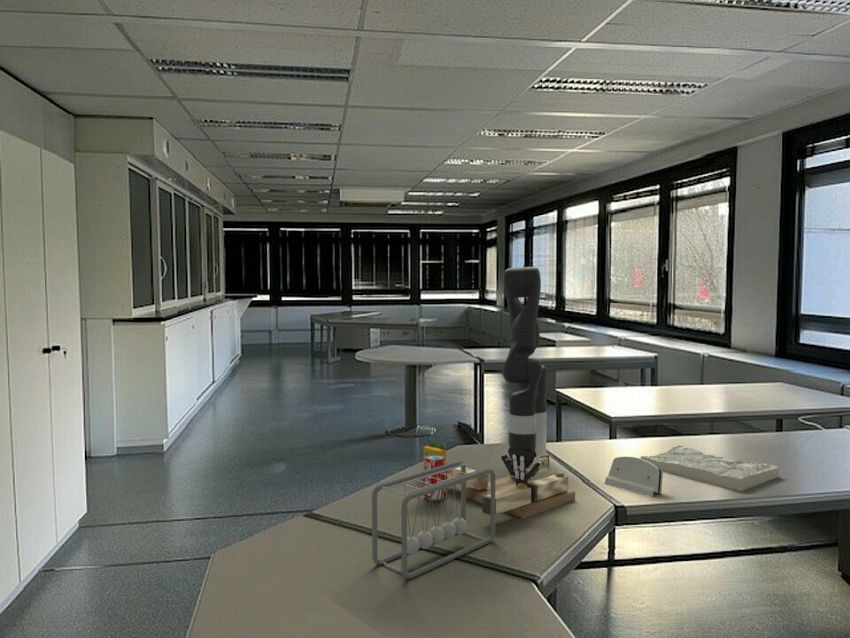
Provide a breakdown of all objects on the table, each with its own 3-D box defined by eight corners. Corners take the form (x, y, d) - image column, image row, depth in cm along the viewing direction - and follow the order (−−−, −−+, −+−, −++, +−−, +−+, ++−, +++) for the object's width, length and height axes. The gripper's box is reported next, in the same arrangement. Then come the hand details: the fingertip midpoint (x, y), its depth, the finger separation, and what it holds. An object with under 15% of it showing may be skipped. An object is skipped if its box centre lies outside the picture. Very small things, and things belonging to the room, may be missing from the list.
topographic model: (740, 492, 185) (741, 475, 185) (640, 466, 213) (640, 451, 212) (778, 478, 199) (779, 462, 199) (679, 455, 226) (680, 441, 226)
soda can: (434, 493, 184) (434, 452, 184) (450, 498, 180) (450, 456, 179) (419, 498, 180) (419, 456, 179) (435, 503, 175) (435, 461, 175)
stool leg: (557, 487, 180) (557, 470, 180) (568, 490, 177) (568, 473, 177) (524, 498, 171) (524, 480, 171) (534, 502, 168) (534, 484, 168)
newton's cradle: (404, 582, 129) (403, 497, 128) (371, 566, 136) (370, 485, 135) (496, 540, 150) (496, 467, 149) (463, 528, 157) (463, 458, 156)
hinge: (603, 483, 193) (610, 451, 195) (611, 485, 196) (618, 453, 198) (652, 497, 180) (659, 462, 182) (661, 499, 183) (667, 465, 185)
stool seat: (415, 495, 182) (415, 469, 181) (516, 467, 210) (516, 445, 209) (496, 528, 157) (496, 498, 157) (598, 491, 185) (599, 466, 185)
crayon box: (423, 477, 200) (423, 441, 199) (429, 475, 202) (429, 439, 201) (440, 482, 195) (440, 445, 194) (446, 479, 197) (446, 443, 196)
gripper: (494, 428, 175) (494, 490, 176) (535, 436, 167) (535, 500, 168) (509, 424, 181) (509, 483, 182) (550, 431, 172) (549, 493, 173)
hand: (521, 491), depth 175 cm, fingers closed
